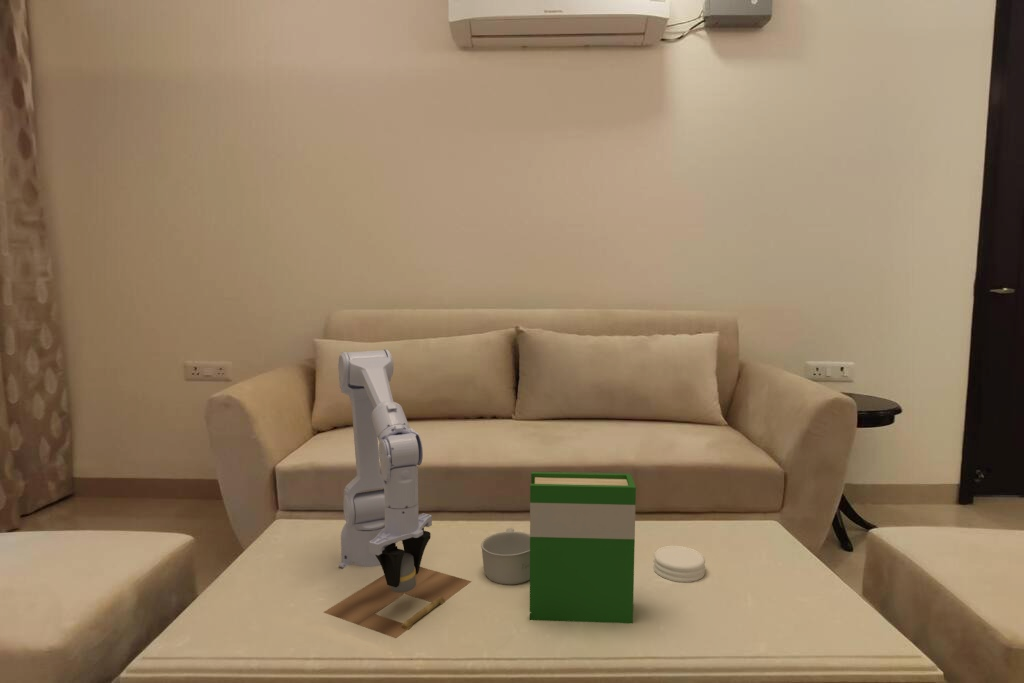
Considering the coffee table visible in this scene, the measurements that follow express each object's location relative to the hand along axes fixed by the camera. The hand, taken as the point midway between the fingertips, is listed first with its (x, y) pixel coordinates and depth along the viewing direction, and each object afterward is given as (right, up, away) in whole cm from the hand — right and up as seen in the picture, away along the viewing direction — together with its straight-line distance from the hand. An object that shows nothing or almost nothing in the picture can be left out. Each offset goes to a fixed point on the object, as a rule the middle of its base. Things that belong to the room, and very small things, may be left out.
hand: (402, 578), depth 113 cm
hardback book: (+31, -7, +3) cm, 32 cm away
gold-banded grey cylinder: (0, -1, 0) cm, 1 cm away
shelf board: (-1, -6, +5) cm, 8 cm away
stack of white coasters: (+52, -5, +18) cm, 56 cm away
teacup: (+19, -5, +15) cm, 25 cm away
